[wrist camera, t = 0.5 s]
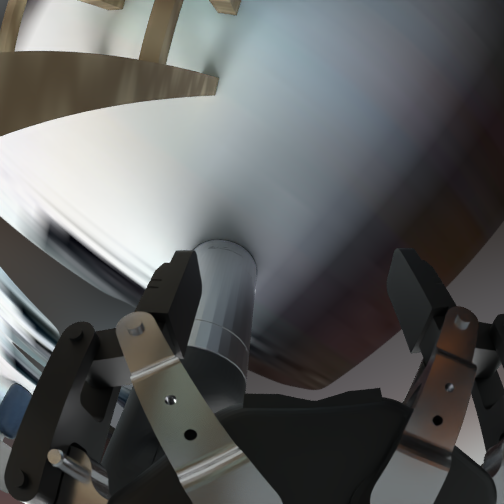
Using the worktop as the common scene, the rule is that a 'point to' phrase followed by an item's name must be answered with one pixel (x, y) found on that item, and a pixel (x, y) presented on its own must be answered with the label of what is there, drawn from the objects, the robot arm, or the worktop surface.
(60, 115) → the stool
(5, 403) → the lamp
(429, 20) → the worktop surface
